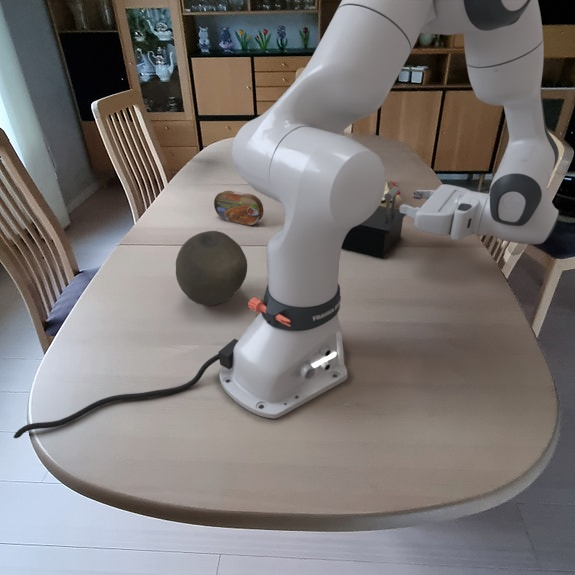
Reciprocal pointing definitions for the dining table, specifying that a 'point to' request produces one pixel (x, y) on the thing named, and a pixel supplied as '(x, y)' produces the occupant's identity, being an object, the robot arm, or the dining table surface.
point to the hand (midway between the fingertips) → (407, 200)
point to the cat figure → (383, 202)
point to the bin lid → (384, 215)
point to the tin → (238, 207)
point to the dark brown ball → (210, 268)
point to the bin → (371, 241)
